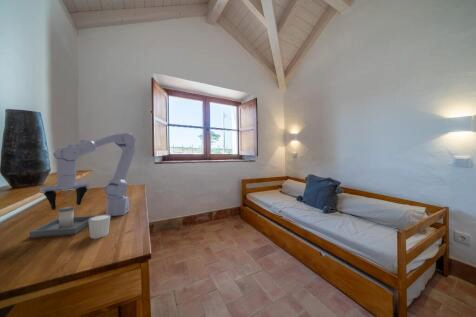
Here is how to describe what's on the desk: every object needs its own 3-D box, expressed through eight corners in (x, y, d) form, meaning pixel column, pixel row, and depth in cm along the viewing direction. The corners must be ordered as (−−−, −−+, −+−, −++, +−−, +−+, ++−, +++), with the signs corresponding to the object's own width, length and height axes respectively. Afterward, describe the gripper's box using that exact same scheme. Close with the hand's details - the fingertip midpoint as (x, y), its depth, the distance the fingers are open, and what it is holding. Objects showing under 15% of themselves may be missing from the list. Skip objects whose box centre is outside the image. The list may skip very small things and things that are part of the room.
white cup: (85, 240, 62) (85, 222, 62) (91, 232, 68) (91, 215, 68) (108, 237, 65) (108, 219, 65) (111, 229, 71) (112, 213, 71)
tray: (95, 220, 79) (95, 215, 79) (75, 234, 66) (75, 228, 66) (58, 223, 76) (58, 217, 76) (29, 238, 62) (29, 231, 62)
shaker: (76, 224, 74) (76, 206, 73) (68, 228, 69) (68, 210, 69) (64, 224, 73) (64, 206, 72) (55, 229, 68) (55, 210, 68)
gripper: (84, 172, 79) (84, 201, 79) (37, 175, 66) (37, 209, 66) (91, 174, 75) (91, 203, 75) (43, 177, 62) (42, 213, 63)
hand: (66, 206), depth 71 cm, fingers open, 7 cm apart
